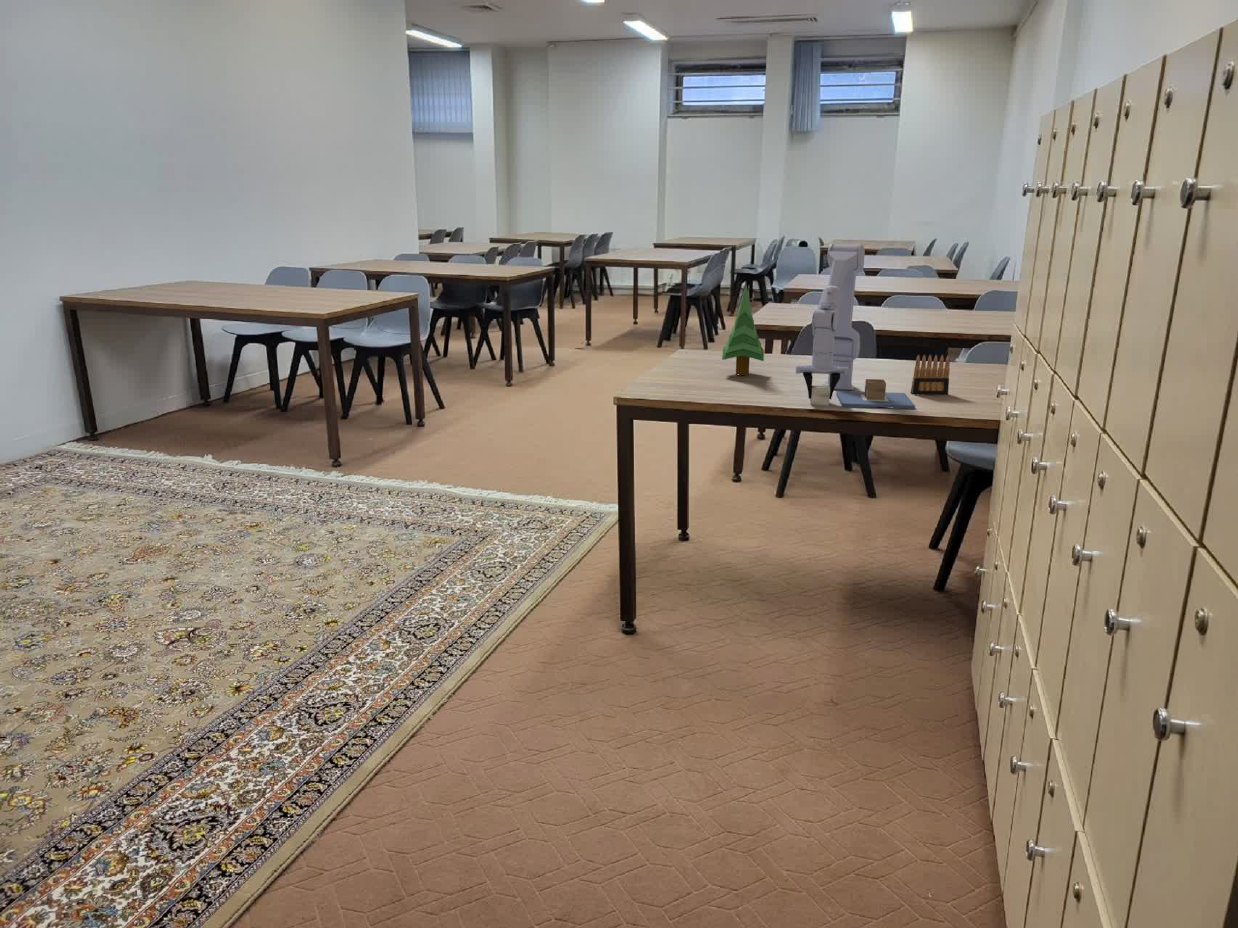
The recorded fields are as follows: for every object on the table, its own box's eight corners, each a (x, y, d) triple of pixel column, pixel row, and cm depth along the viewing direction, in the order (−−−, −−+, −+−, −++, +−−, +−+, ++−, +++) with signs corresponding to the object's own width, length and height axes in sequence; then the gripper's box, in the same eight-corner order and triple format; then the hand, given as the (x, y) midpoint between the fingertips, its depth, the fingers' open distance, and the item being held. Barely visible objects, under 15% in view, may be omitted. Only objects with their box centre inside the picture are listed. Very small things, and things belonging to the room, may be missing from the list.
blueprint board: (836, 394, 265) (836, 390, 265) (904, 396, 263) (904, 392, 262) (842, 406, 250) (842, 403, 250) (914, 409, 248) (915, 405, 247)
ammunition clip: (912, 394, 265) (916, 355, 261) (910, 393, 267) (914, 354, 263) (948, 394, 264) (952, 355, 261) (946, 393, 266) (950, 354, 263)
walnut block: (864, 395, 259) (865, 379, 257) (881, 396, 258) (883, 379, 256) (866, 399, 254) (868, 382, 252) (884, 400, 253) (886, 383, 252)
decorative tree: (773, 376, 290) (778, 284, 281) (731, 380, 284) (734, 286, 275) (752, 369, 302) (756, 280, 293) (711, 372, 296) (714, 282, 287)
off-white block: (809, 400, 257) (811, 384, 256) (827, 401, 257) (828, 384, 255) (811, 404, 252) (812, 387, 251) (829, 405, 252) (830, 388, 250)
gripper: (798, 353, 247) (795, 400, 251) (850, 354, 245) (847, 402, 249) (796, 349, 254) (793, 395, 258) (847, 350, 252) (844, 396, 256)
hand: (819, 398), depth 254 cm, fingers closed on off-white block, 5 cm apart
